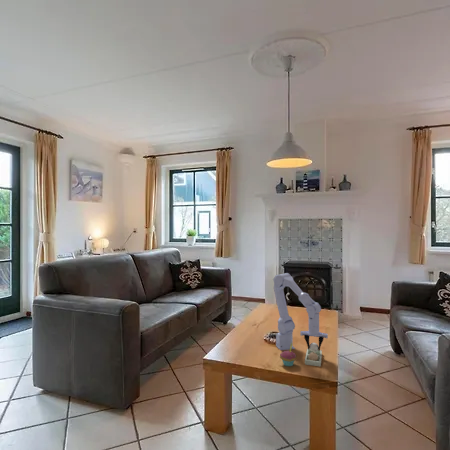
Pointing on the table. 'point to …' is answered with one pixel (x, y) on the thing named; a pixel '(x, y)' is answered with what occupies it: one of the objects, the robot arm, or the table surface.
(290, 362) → the cupcake
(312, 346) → the white egg
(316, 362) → the carton
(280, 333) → the robot arm
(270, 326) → the table surface
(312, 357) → the brown egg
